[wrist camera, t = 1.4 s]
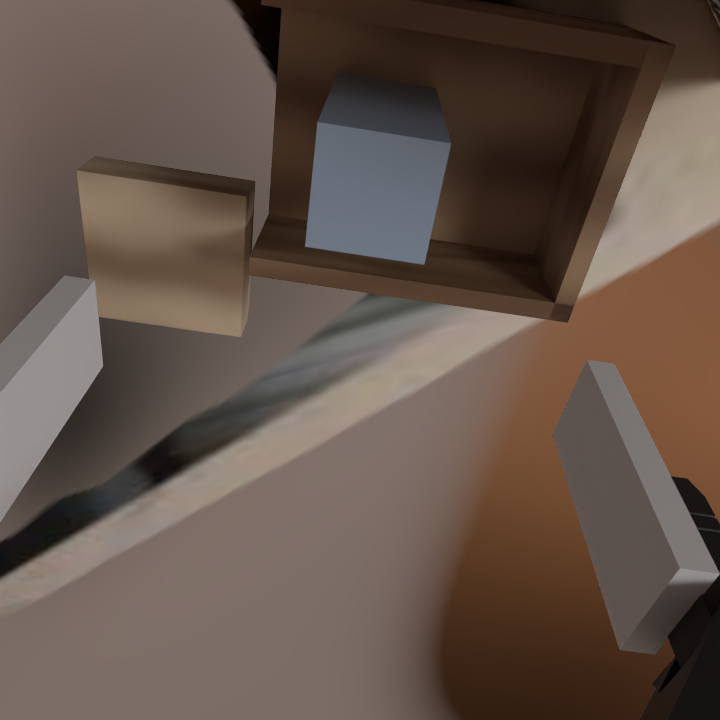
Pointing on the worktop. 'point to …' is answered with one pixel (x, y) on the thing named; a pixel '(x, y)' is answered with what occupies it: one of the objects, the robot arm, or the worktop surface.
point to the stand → (168, 244)
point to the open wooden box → (470, 143)
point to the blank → (377, 169)
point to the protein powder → (715, 9)
